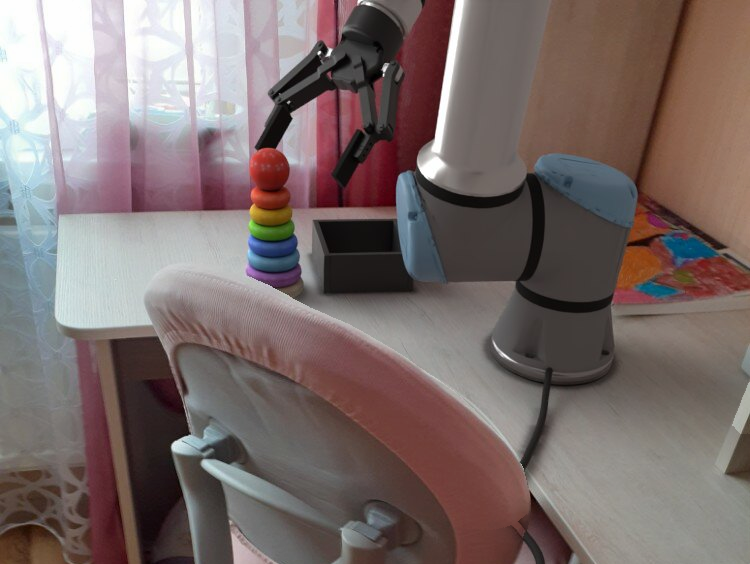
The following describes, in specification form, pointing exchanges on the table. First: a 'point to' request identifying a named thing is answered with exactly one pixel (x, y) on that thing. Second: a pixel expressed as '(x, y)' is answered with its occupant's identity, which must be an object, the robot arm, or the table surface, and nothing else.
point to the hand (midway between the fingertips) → (298, 167)
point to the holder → (359, 256)
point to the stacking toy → (272, 225)
